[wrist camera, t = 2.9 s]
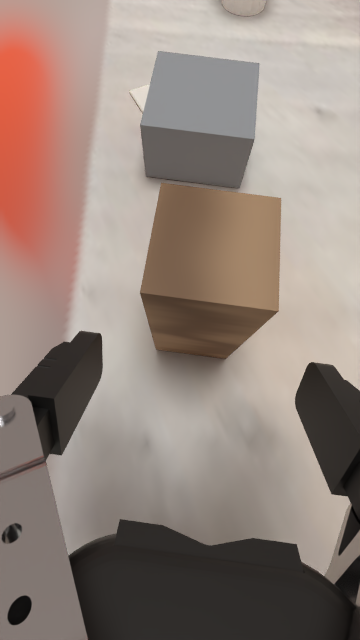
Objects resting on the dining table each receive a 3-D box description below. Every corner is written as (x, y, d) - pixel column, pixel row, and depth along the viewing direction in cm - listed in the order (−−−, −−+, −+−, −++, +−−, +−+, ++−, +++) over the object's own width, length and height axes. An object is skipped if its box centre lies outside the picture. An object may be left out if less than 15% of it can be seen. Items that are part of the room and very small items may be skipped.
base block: (244, 120, 29) (259, 63, 24) (239, 188, 26) (254, 139, 21) (160, 109, 29) (158, 50, 24) (145, 176, 26) (140, 124, 21)
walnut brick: (230, 294, 23) (281, 198, 12) (225, 358, 21) (278, 311, 10) (166, 286, 23) (161, 182, 12) (156, 349, 21) (140, 292, 11)
